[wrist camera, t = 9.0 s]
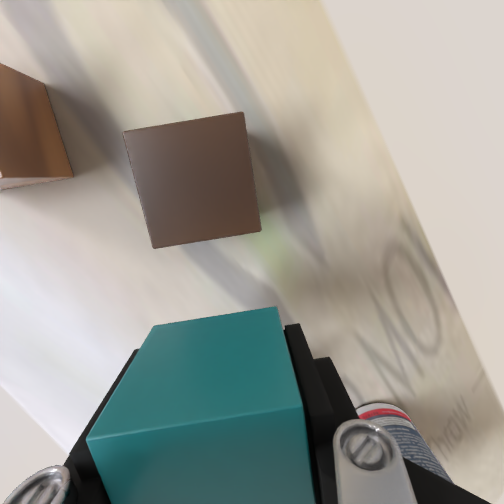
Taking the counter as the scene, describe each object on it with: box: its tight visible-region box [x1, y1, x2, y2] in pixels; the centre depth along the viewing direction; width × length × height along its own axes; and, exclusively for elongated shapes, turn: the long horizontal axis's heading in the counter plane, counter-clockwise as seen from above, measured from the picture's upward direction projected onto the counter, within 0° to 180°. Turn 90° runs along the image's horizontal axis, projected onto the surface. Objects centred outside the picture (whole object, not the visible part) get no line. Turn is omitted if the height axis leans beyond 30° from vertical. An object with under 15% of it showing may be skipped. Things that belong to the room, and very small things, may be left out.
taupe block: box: [123, 112, 262, 249], centre depth 12 cm, size 4×4×4 cm
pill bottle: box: [356, 403, 454, 484], centre depth 15 cm, size 5×5×9 cm
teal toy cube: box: [86, 306, 316, 504], centre depth 8 cm, size 4×4×4 cm
